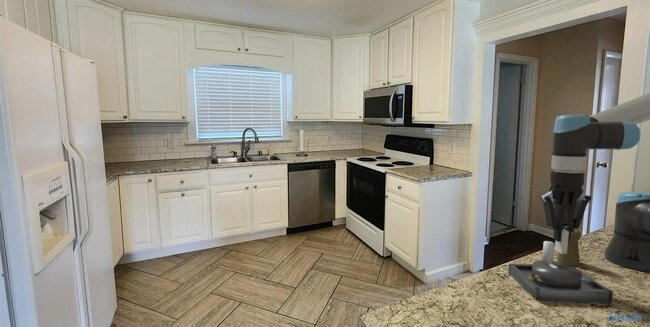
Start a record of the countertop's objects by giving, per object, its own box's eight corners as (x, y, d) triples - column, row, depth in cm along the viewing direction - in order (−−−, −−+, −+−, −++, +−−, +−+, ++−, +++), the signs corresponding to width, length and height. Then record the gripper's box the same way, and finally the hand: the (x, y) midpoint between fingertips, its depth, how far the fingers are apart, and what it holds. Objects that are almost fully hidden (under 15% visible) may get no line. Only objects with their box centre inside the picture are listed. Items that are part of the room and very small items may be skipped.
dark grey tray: (571, 274, 93) (572, 265, 93) (611, 303, 79) (612, 291, 78) (508, 272, 95) (508, 263, 95) (536, 300, 80) (536, 289, 80)
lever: (591, 290, 81) (594, 257, 80) (546, 288, 82) (548, 255, 81) (563, 270, 92) (566, 241, 90) (524, 269, 93) (526, 240, 92)
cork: (584, 266, 99) (587, 233, 97) (562, 265, 100) (565, 232, 99) (573, 258, 105) (575, 226, 103) (553, 257, 106) (555, 226, 104)
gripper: (580, 168, 90) (573, 246, 93) (535, 169, 90) (529, 246, 93) (602, 172, 83) (594, 257, 86) (553, 173, 83) (546, 257, 86)
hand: (560, 251), depth 90 cm, fingers closed
